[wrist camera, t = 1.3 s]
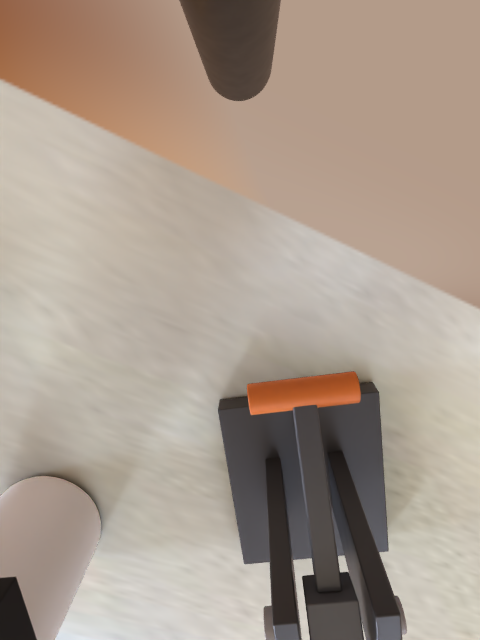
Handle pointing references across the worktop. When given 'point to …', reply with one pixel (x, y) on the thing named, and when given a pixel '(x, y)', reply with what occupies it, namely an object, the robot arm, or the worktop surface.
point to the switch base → (290, 514)
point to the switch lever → (317, 496)
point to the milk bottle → (47, 546)
